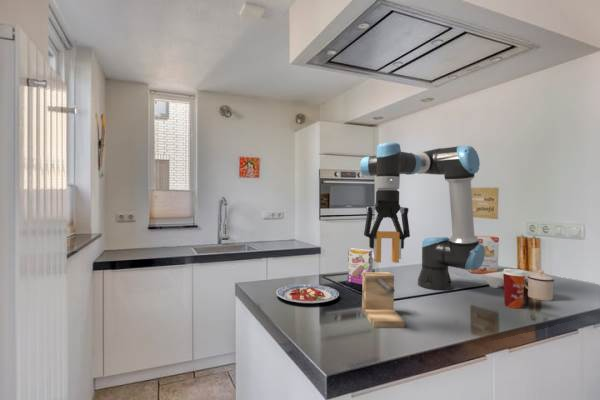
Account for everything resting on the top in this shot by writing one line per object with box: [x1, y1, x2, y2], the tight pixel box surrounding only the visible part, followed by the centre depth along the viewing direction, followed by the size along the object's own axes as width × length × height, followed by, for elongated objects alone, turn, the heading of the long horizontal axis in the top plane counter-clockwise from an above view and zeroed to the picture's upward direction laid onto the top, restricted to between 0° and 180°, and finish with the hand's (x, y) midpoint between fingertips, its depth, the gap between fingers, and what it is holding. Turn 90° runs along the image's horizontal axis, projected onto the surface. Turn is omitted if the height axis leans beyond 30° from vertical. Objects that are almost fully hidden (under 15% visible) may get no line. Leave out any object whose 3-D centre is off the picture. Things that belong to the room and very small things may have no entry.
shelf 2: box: [481, 268, 536, 289], centre depth 162 cm, size 12×30×5 cm, turn 118°
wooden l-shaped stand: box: [361, 271, 406, 329], centre depth 112 cm, size 17×10×14 cm, turn 3°
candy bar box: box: [347, 247, 374, 286], centre depth 159 cm, size 11×5×16 cm, turn 58°
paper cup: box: [501, 268, 526, 310], centre depth 128 cm, size 8×8×14 cm
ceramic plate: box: [276, 283, 340, 305], centre depth 136 cm, size 26×26×3 cm
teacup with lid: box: [524, 269, 555, 302], centre depth 141 cm, size 12×9×12 cm
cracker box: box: [467, 235, 500, 275], centre depth 186 cm, size 14×6×21 cm, turn 81°
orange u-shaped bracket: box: [373, 230, 400, 264], centre depth 109 cm, size 3×8×10 cm, turn 93°
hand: (386, 258), depth 109 cm, fingers closed on orange u-shaped bracket, 7 cm apart
